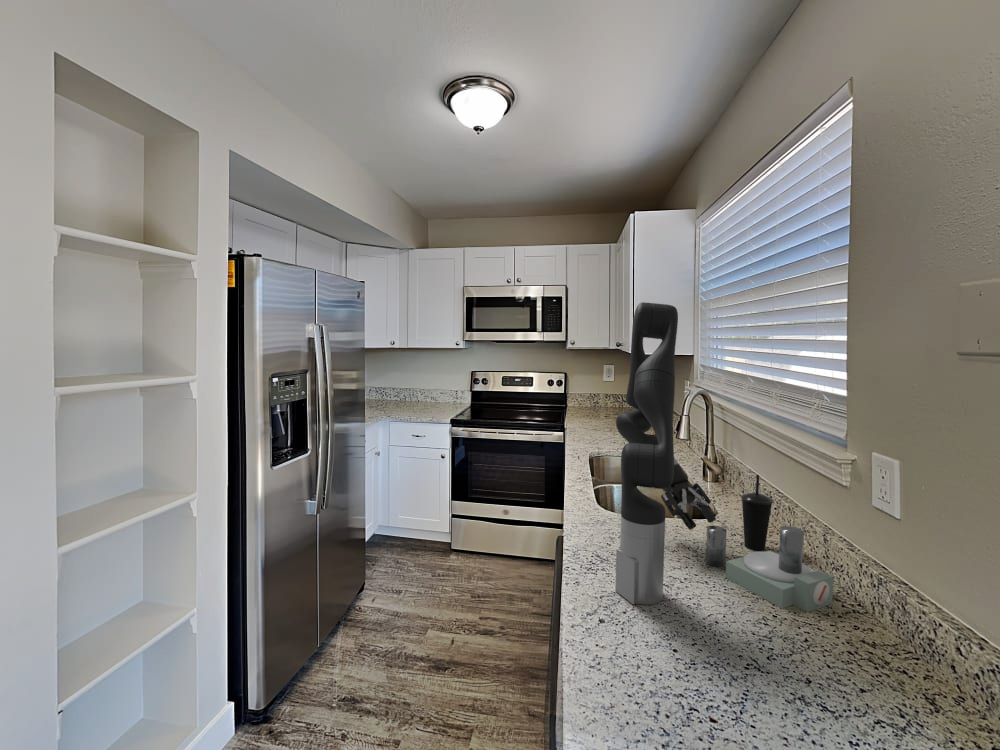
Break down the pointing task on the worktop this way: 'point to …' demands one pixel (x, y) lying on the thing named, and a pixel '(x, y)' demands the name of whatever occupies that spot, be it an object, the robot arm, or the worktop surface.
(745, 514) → the drinking cup
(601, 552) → the worktop surface
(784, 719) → the worktop surface
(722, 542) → the steel weight
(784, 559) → the steel weight
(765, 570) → the kitchen scale
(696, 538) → the worktop surface
